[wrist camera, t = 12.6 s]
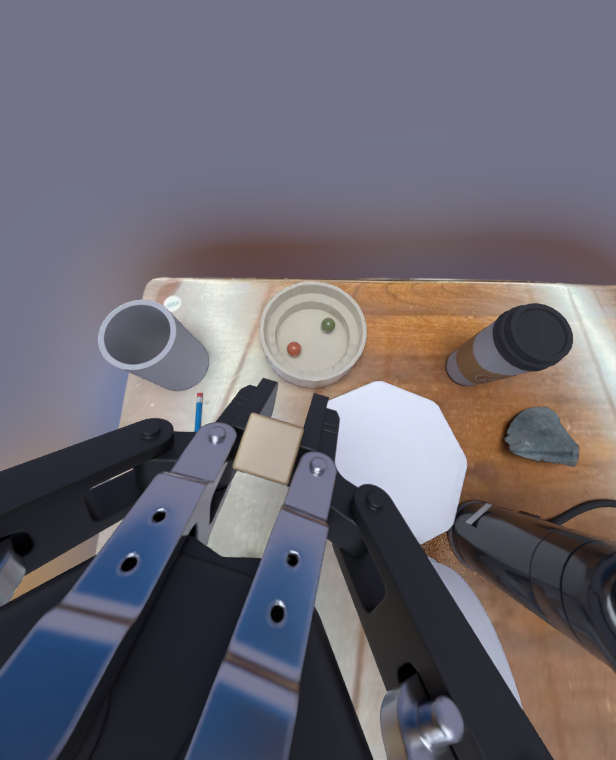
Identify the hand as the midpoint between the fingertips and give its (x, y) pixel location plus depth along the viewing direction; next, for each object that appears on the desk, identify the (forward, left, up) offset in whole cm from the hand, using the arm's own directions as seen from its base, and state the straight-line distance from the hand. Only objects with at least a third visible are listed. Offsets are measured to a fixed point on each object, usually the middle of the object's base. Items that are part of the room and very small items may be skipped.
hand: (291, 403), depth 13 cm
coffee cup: (-30, -7, -30) cm, 43 cm away
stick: (+1, +2, -12) cm, 12 cm away
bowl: (-5, -15, -30) cm, 34 cm away
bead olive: (-8, -17, -28) cm, 33 cm away
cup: (+17, -14, -30) cm, 37 cm away
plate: (-13, +6, -30) cm, 33 cm away
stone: (-38, +5, -30) cm, 48 cm away
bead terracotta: (-1, -13, -28) cm, 31 cm away
